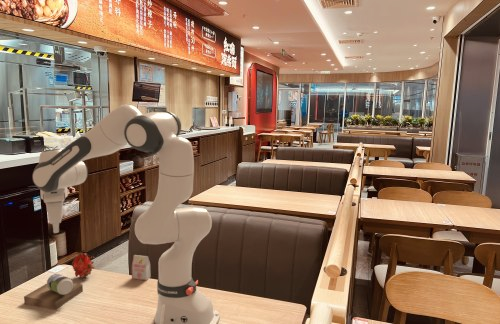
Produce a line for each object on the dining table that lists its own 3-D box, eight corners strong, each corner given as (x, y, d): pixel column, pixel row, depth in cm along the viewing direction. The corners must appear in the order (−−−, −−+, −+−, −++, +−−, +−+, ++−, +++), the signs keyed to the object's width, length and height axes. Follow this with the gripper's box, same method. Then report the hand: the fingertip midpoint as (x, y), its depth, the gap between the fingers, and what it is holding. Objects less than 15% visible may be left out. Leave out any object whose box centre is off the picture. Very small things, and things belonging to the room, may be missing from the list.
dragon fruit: (86, 283, 153) (85, 255, 151) (67, 281, 154) (66, 253, 152) (98, 274, 161) (96, 247, 160) (80, 272, 162) (78, 246, 161)
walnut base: (82, 292, 146) (82, 284, 146) (56, 311, 133) (55, 302, 132) (53, 288, 149) (53, 279, 149) (24, 305, 136) (23, 296, 136)
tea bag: (136, 275, 161) (136, 253, 160) (150, 277, 160) (150, 255, 158) (132, 278, 158) (131, 256, 156) (146, 280, 156) (145, 258, 155)
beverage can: (62, 277, 133) (51, 267, 141) (51, 297, 131) (41, 285, 139) (78, 281, 137) (66, 271, 146) (68, 300, 135) (56, 289, 144)
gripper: (45, 188, 143) (47, 222, 145) (43, 199, 125) (46, 238, 127) (63, 186, 146) (65, 220, 148) (64, 197, 128) (66, 235, 130)
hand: (56, 228), depth 138 cm, fingers open, 8 cm apart
